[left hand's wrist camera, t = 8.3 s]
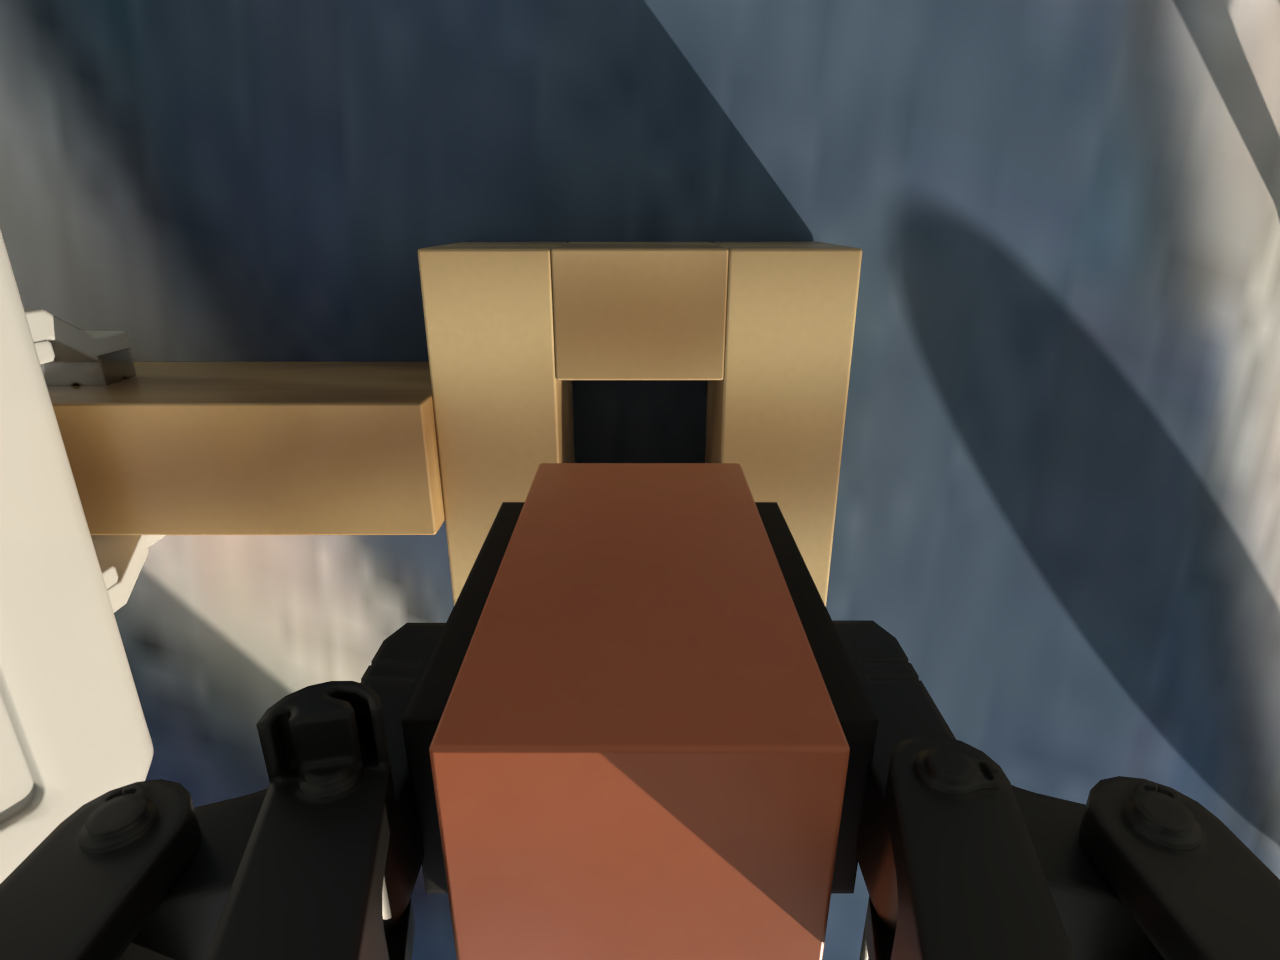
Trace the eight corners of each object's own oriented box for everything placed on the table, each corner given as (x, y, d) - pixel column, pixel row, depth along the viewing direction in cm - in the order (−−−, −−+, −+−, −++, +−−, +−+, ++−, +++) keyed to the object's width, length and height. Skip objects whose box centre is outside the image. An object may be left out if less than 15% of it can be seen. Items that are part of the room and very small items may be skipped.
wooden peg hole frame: (793, 564, 28) (831, 651, 22) (129, 564, 28) (1, 652, 22) (819, 241, 24) (874, 249, 18) (40, 242, 24) (-145, 250, 18)
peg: (731, 634, 16) (814, 1028, 8) (547, 634, 16) (464, 1028, 8) (740, 461, 14) (852, 748, 7) (538, 461, 14) (426, 748, 7)
